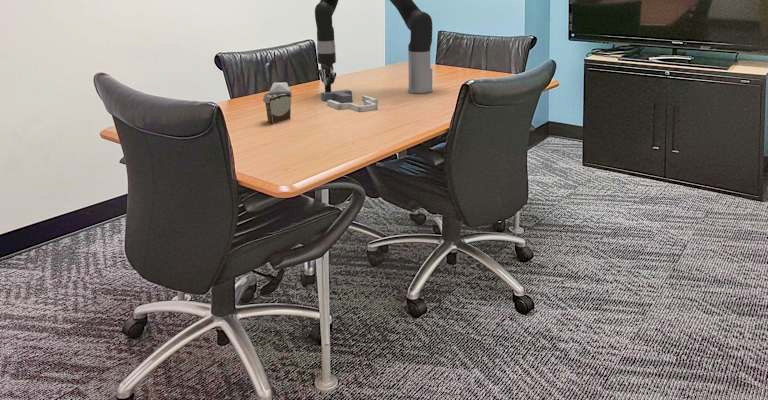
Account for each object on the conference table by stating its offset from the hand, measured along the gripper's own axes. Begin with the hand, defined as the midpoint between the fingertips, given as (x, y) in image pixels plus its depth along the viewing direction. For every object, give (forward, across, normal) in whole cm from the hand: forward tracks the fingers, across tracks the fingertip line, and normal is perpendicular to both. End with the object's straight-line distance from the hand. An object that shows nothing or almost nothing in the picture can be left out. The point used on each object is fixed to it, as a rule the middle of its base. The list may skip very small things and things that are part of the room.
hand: (328, 93), depth 316 cm
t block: (+1, -12, 0) cm, 12 cm away
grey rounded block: (+1, -2, +22) cm, 22 cm away
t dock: (+1, -26, 0) cm, 26 cm away
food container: (+1, -32, +36) cm, 48 cm away
